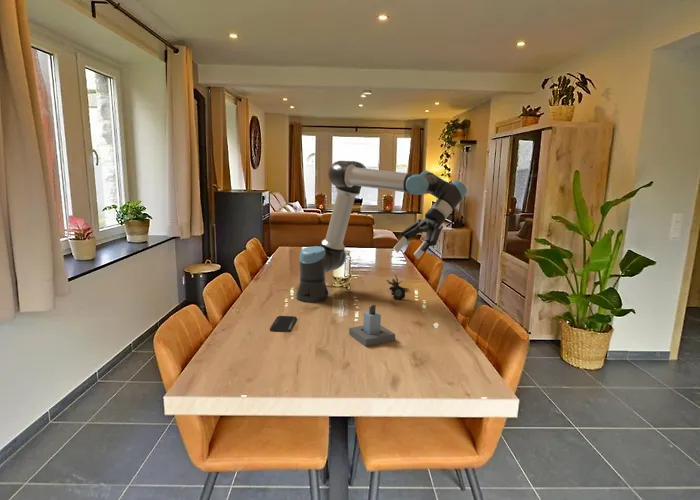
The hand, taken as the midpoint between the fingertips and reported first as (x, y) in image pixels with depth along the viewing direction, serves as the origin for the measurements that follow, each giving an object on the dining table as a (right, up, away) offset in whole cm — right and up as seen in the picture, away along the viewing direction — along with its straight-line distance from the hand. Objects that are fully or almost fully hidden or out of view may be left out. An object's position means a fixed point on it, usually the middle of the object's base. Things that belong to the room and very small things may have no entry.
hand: (405, 253), depth 164 cm
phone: (-47, -28, 0) cm, 55 cm away
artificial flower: (+1, -20, +45) cm, 50 cm away
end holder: (-14, -30, -12) cm, 35 cm away
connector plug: (-14, -30, -12) cm, 35 cm away
